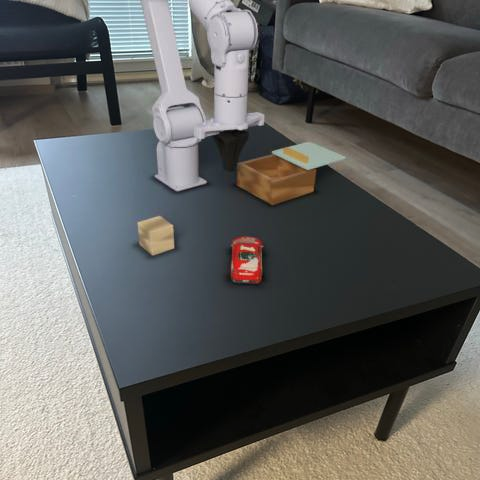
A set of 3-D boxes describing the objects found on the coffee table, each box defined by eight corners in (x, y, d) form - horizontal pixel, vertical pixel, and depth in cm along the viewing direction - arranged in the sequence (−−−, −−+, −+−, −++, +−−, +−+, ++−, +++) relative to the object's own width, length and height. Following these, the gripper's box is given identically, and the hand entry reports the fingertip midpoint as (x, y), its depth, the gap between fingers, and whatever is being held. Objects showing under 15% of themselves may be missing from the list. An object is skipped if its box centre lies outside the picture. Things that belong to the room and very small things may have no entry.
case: (236, 185, 111) (237, 163, 107) (277, 173, 117) (279, 152, 113) (272, 205, 103) (274, 182, 100) (313, 191, 109) (316, 169, 106)
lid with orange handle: (271, 153, 112) (272, 145, 111) (308, 143, 118) (309, 136, 117) (307, 170, 105) (308, 162, 104) (345, 159, 111) (346, 151, 110)
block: (139, 245, 89) (137, 222, 86) (161, 237, 91) (159, 215, 88) (152, 255, 86) (150, 232, 83) (174, 248, 88) (173, 225, 86)
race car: (232, 245, 90) (232, 225, 88) (262, 247, 90) (263, 227, 88) (227, 286, 80) (228, 265, 77) (261, 288, 80) (263, 267, 77)
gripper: (210, 105, 80) (210, 186, 88) (277, 92, 87) (271, 168, 96) (185, 95, 84) (188, 173, 92) (251, 83, 91) (248, 157, 100)
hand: (229, 169), depth 94 cm, fingers closed
